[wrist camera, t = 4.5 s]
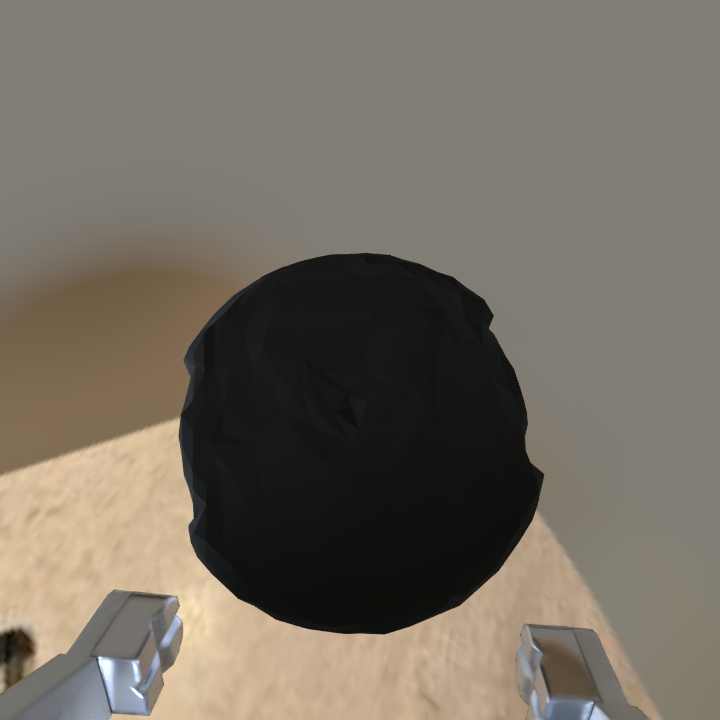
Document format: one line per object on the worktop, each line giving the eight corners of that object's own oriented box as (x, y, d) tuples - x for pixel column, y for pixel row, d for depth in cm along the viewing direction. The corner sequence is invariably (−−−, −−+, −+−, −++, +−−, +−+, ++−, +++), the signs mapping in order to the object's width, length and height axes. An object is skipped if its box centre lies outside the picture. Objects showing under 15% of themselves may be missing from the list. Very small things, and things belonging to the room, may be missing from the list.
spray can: (414, 445, 27) (491, 214, 9) (439, 568, 25) (624, 602, 6) (304, 462, 27) (149, 263, 9) (316, 588, 24) (130, 686, 6)
